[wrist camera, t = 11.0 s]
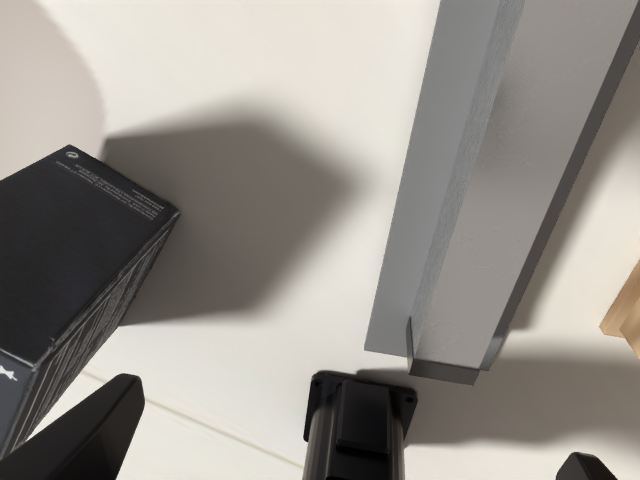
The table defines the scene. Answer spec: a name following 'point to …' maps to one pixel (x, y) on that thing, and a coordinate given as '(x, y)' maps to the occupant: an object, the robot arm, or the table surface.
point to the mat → (438, 159)
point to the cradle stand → (626, 313)
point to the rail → (508, 172)
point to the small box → (66, 275)
